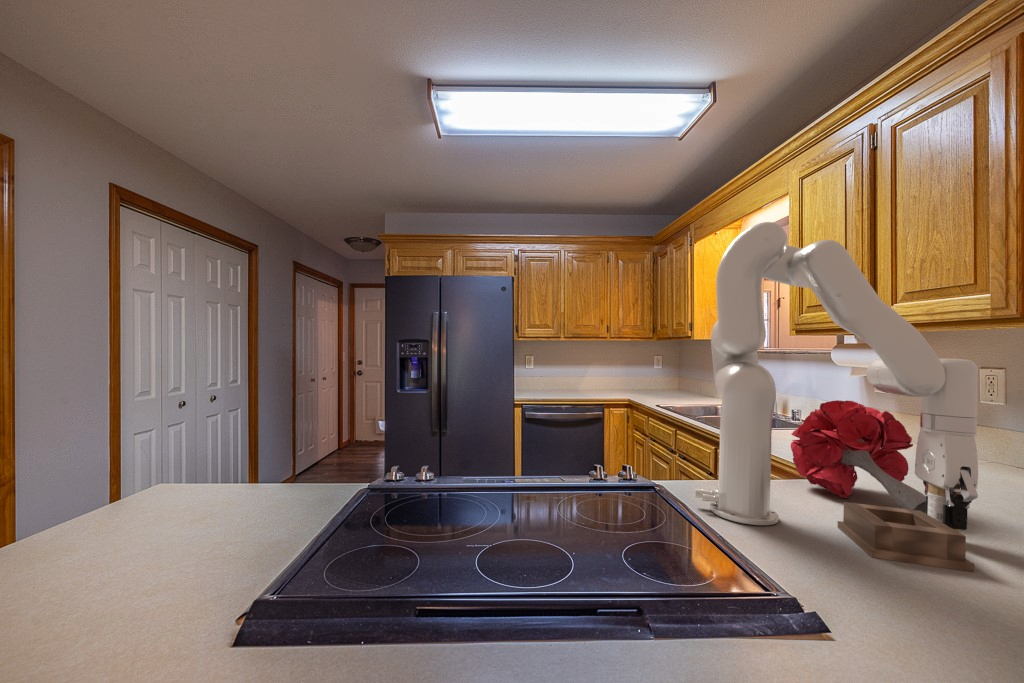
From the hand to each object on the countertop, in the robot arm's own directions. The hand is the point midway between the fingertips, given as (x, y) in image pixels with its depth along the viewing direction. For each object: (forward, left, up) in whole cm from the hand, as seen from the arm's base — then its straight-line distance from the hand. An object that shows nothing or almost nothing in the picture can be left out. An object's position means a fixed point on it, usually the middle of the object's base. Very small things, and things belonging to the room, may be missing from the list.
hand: (945, 522), depth 82 cm
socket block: (-10, -7, -3) cm, 13 cm away
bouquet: (-5, +24, -4) cm, 25 cm away
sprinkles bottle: (0, 0, -4) cm, 4 cm away
